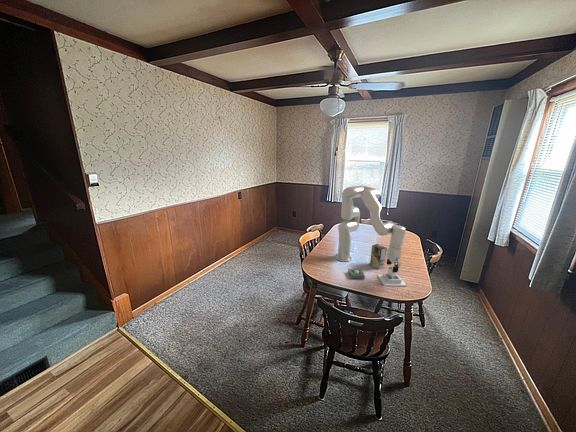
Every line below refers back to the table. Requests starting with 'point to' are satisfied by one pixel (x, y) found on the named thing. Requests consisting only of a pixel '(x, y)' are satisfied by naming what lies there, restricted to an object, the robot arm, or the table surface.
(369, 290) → the table surface
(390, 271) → the cylinder
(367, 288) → the table surface
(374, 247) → the coffee box
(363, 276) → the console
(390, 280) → the white square tray
